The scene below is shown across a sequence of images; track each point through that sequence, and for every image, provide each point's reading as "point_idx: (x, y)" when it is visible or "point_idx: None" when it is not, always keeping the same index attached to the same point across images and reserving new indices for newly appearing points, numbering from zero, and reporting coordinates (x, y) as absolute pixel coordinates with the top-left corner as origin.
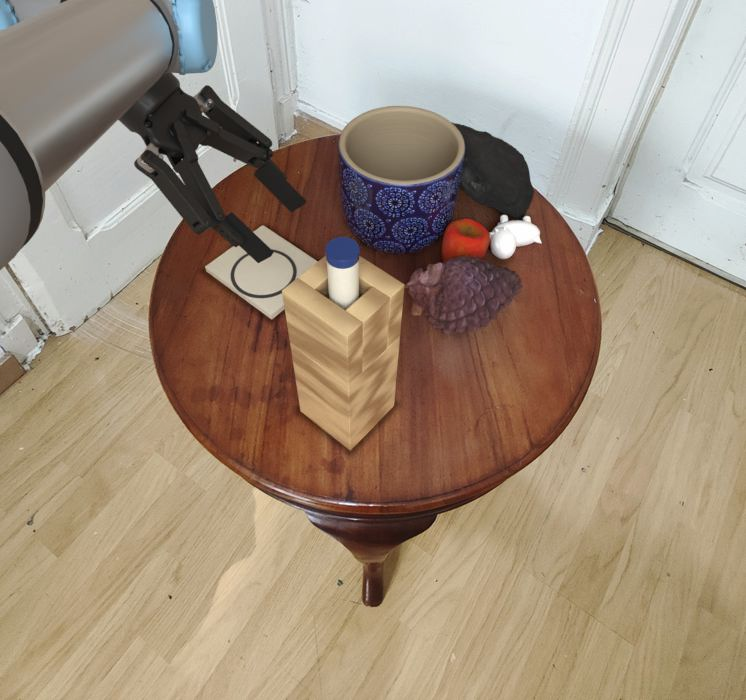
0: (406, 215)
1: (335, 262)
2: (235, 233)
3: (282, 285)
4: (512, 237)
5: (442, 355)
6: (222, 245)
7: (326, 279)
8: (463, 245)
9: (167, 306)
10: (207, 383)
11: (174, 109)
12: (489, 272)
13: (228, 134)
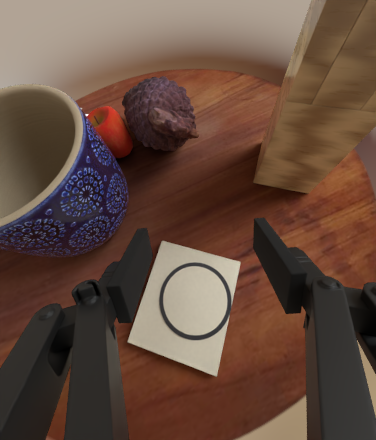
0: (106, 145)
1: None
2: (299, 259)
3: (201, 270)
4: (85, 114)
5: (204, 133)
6: (170, 378)
7: None
8: (116, 116)
9: (285, 390)
10: (338, 280)
11: None
12: (147, 79)
13: (78, 429)
